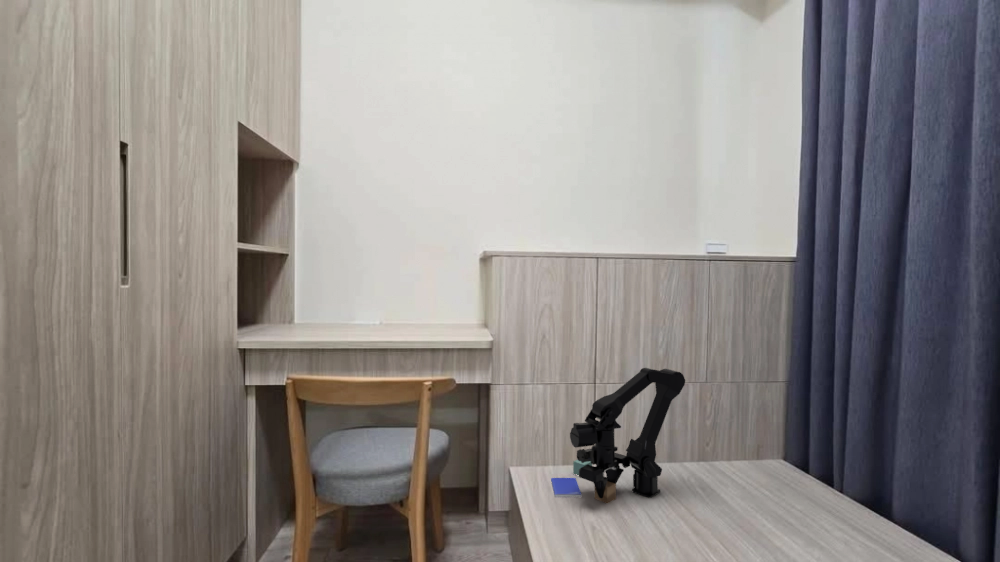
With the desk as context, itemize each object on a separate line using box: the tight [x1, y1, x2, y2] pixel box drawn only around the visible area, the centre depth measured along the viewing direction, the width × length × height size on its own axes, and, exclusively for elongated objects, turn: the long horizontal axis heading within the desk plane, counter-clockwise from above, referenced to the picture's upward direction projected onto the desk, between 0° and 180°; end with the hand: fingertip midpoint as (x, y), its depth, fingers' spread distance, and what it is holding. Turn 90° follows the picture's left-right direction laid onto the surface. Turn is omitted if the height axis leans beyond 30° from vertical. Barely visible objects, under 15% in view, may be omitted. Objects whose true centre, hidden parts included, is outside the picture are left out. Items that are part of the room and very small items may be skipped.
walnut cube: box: [594, 481, 617, 504], centre depth 145 cm, size 4×4×4 cm
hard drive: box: [550, 477, 583, 498], centre depth 152 cm, size 2×8×12 cm
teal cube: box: [572, 459, 593, 476], centre depth 163 cm, size 4×4×4 cm
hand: (605, 495), depth 145 cm, fingers closed on walnut cube, 4 cm apart
